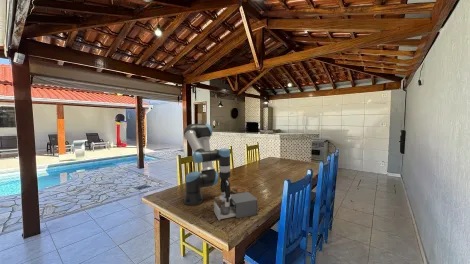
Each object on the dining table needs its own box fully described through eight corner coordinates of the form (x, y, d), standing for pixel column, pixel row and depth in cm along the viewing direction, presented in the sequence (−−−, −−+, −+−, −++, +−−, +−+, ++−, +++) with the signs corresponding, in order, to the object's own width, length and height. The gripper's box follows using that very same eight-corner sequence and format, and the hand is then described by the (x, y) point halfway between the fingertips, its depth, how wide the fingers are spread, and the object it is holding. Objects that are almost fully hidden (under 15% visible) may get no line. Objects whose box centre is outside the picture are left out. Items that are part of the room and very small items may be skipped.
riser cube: (215, 204, 148) (215, 197, 148) (222, 203, 150) (222, 196, 150) (217, 208, 142) (216, 200, 142) (224, 206, 144) (224, 199, 144)
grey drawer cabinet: (228, 208, 141) (228, 194, 140) (248, 205, 147) (248, 191, 146) (235, 218, 127) (235, 203, 126) (257, 214, 133) (257, 199, 132)
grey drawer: (214, 211, 136) (213, 201, 136) (234, 208, 141) (234, 198, 141) (218, 220, 124) (218, 209, 124) (240, 216, 130) (240, 205, 129)
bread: (225, 198, 160) (224, 186, 159) (232, 194, 169) (231, 183, 168) (244, 203, 150) (244, 191, 149) (250, 198, 159) (250, 187, 158)
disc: (218, 196, 134) (218, 194, 134) (229, 195, 137) (229, 193, 137) (221, 201, 126) (221, 198, 126) (232, 199, 129) (232, 197, 129)
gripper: (215, 168, 139) (216, 198, 140) (223, 176, 119) (224, 211, 121) (225, 167, 142) (226, 197, 143) (235, 174, 122) (235, 209, 123)
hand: (225, 203), depth 132 cm, fingers closed on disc, 8 cm apart
